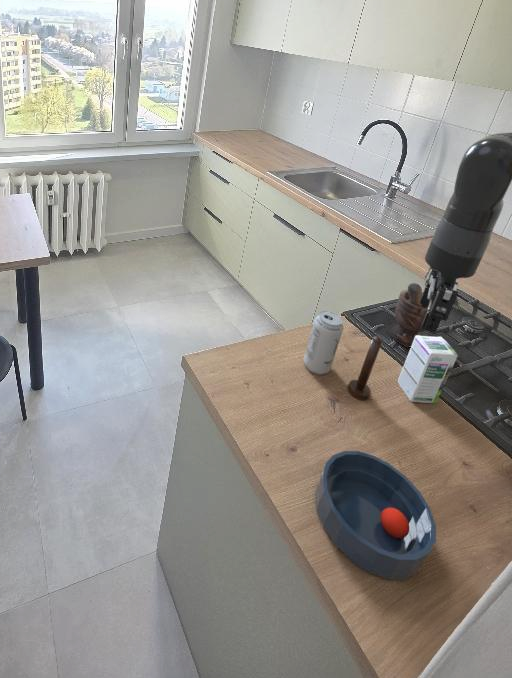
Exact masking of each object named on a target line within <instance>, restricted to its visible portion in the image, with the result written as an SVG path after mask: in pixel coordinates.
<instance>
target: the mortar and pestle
mask: <svg viewBox="0 0 512 678" xmlns="http://www.w3.org/2000/svg"><path fill="white" fill-rule="evenodd" d="M422 294H423V288H422V287H421V285H420V284H418V283H416V282H412V283H410V284H408V285H407V289H402V290H401V291H400V294H399V296H398V298H397V302H396V304H395V309H394V310H395V311H394V315H395V320H396V322H397V323H398V324H396V325H394V326H393V327H391V328H390V329H389V331H388V332H389V335H390V337H391V338H392V339H393V340H394V341H395V342H396V343H398V344H399V345H401V346H403V347H406V348H410V347H409V346H412V343H413V341H414V338H415V336H416V335H418V336H422V335H421V334H420V333H422V332H425V331H426V330H424V329H422V322H423V320H424V318H425V315H426V313H427V308H428V306H425V305H422V304H420V299H421V296H422ZM440 308H441V307H437V308H436V309H439V310H440Z"/></svg>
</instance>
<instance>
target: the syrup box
mask: <svg viewBox="0 0 512 678" xmlns="http://www.w3.org/2000/svg"><path fill="white" fill-rule="evenodd" d="M458 357H459V355H458V353H457V352H456V350H454V348H453V347H452V346H451V344H449V343H448V341H447V340H445V339H444V338H443V337H442V336H431V335H430V336H429V335H421V336H418V335H416V336H415V338H414V341H413V343H412V346H411V348H410V347H409V351H408V354H407V356H406V358H405V361H404V364H403V366H402V368H401V371H400V374H399V376H398V380H397V383H398V385H399V388H401V390H402V392H403V393H404V394H405V396H406V397H407V399H408V400H409V401H410V402H411V403H425V404H437V403H438V400H439V398H440V396H441V393H442V392H443V389H444V387H445V385H446V383H447V380H448V378H449V376H450V374H451V372H452V369H453V368H454V365H455V362H456V361H457V359H458Z"/></svg>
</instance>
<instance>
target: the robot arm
mask: <svg viewBox="0 0 512 678" xmlns="http://www.w3.org/2000/svg"><path fill="white" fill-rule="evenodd" d="M511 184H512V132H498V133H493V134H489V135H487V136H485V137H483V138H481V139H479V140H477V141H475V142H474V143H472V144H471V145H470V146H469V147H467V149H466V151H465V152H464V155H463V156H462V158H461V160H460V163H459V166H458V169H457V174H456V178H455V182H454V187H453V188H454V189H453V193H452V194H451V196H450V198H449V200H448V203H447V205H446V208H445V210H444V213H443V215H442V217H441V219H440V221H439V222H438V224H437V225H436V228H435V231H434V233H433V236H432V237H431V241H430V243H429V245H428V248H427V249H426V250H427V251H426V253H425V256H424V260H425V263H426V264H427V265H428V266H429V267H428V271H427V273H426V274H425V276H424V278H425V282H424V289H423V290H422V292H423V294H422V296H421V299H420V304H422V305H425V306H428V308H427V313H426V315H425V318H424V320H423V322H422V329H424V330H425V331H426V332H427V331H428V332H430V333H436V332H437V330H438V328H439V326H440V323H441V322H442V321H444V322H446V321H448V319H449V316H450V313H451V312H452V309H453V307H454V304H455V302H456V300H457V297H458V296H459V292H458V287H459V282H458V281H457V280H458V279H468V278H472V277H473V276H475V274H476V273H477V270H478V268H479V265H480V263H481V261H482V259H483V257H484V255H485V253H486V252H487V251H486V250H487V248H488V246H489V244H490V241H491V238H492V233H493V231H494V228H495V226H496V224H497V222H498V220H499V218H500V216H501V214H502V212H503V208H504V198H505V196H506V193H507V192H508V190H509V187H510V185H511ZM437 307H440V308H441V309H440V308H439V309H436V308H437Z"/></svg>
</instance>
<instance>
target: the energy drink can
mask: <svg viewBox="0 0 512 678" xmlns="http://www.w3.org/2000/svg"><path fill="white" fill-rule="evenodd" d="M343 330H344V326H343V319H342V318H341V316H340V315H338V314H337V313H335V312H333V311H330V310H329V311H328V310H324V311H321V312H319V314H318V315H317V316H315V318H314V321H313V325H312V329H311V331H310V335H309V338H308V343H307V346H306V350H305V353H304V357H303V363H304V364H305V367H306V368H307V369H308V371H310V372H311V373H313V374H315V375H320V376H321V375H322V376H323V375H325V374H327V373H329V372H330V371H331V369H332V365H333V362H334V359H335V356H336V353H337V350H338V346H339V343H340V341H341V337H342V335H343V332H344V331H343Z"/></svg>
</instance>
